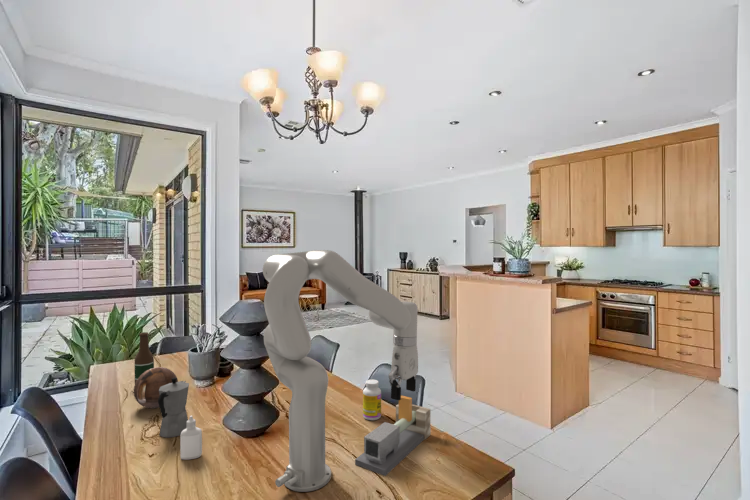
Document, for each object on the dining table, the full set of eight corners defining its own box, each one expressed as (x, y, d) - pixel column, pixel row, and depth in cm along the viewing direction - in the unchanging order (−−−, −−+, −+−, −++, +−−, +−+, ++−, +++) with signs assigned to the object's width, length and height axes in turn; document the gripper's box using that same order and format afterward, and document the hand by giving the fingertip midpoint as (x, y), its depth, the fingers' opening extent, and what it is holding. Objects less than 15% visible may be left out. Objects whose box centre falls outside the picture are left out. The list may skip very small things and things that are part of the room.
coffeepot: (171, 422, 136) (170, 371, 136) (197, 422, 136) (197, 371, 136) (144, 444, 120) (144, 387, 120) (174, 444, 120) (174, 387, 120)
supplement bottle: (379, 421, 136) (379, 385, 135) (361, 420, 137) (360, 384, 137) (382, 413, 142) (382, 379, 142) (365, 412, 143) (365, 377, 143)
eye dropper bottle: (193, 462, 110) (193, 420, 110) (177, 459, 112) (177, 418, 112) (204, 454, 115) (204, 414, 115) (189, 451, 116) (188, 411, 116)
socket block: (425, 439, 123) (425, 413, 123) (395, 430, 129) (395, 405, 129) (430, 434, 126) (430, 408, 126) (401, 426, 132) (401, 401, 132)
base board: (385, 476, 103) (385, 470, 103) (355, 464, 109) (355, 459, 109) (426, 437, 124) (426, 432, 124) (399, 429, 130) (399, 425, 130)
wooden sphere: (166, 396, 159) (165, 360, 159) (186, 404, 151) (185, 366, 151) (126, 408, 147) (126, 369, 147) (145, 418, 139) (145, 377, 138)
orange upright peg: (394, 442, 114) (394, 409, 114) (383, 438, 116) (383, 406, 116) (419, 421, 127) (419, 392, 127) (408, 418, 129) (408, 390, 129)
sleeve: (379, 465, 106) (379, 442, 106) (364, 460, 108) (364, 436, 108) (399, 448, 115) (399, 426, 115) (384, 443, 118) (384, 422, 118)
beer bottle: (158, 386, 171) (157, 332, 171) (139, 391, 165) (139, 335, 164) (148, 382, 175) (148, 330, 175) (130, 388, 169) (130, 333, 169)
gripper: (401, 347, 114) (400, 406, 113) (427, 338, 128) (426, 389, 128) (380, 344, 118) (378, 400, 117) (407, 335, 132) (406, 385, 132)
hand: (403, 394), depth 123 cm, fingers open, 9 cm apart
